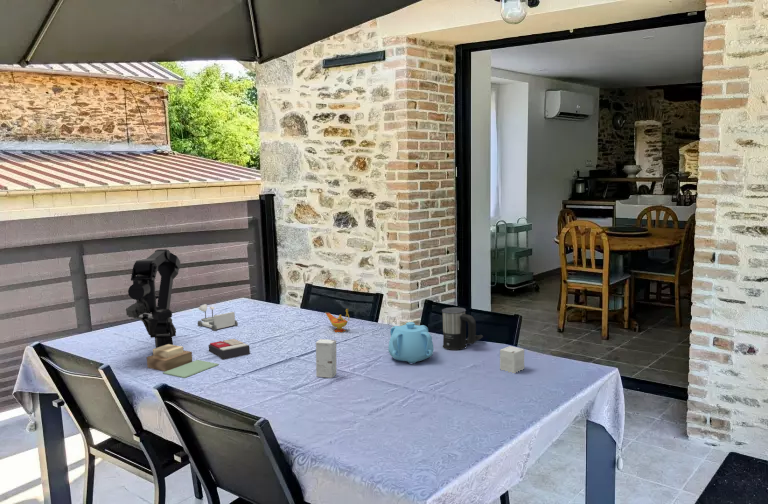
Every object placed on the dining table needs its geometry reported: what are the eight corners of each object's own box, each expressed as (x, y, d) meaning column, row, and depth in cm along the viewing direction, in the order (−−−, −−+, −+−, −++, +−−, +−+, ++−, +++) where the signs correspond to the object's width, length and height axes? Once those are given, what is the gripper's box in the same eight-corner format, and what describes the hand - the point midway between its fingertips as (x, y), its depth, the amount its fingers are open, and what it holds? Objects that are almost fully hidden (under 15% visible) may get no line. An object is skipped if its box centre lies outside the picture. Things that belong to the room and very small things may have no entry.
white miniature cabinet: (315, 377, 213) (314, 342, 211) (321, 372, 217) (319, 338, 216) (332, 378, 211) (331, 343, 210) (337, 374, 215) (336, 339, 214)
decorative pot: (433, 352, 238) (433, 317, 236) (433, 365, 222) (432, 328, 220) (390, 352, 239) (390, 317, 237) (387, 365, 223) (386, 328, 222)
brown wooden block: (147, 367, 228) (146, 357, 227) (173, 358, 238) (173, 348, 238) (166, 371, 223) (165, 360, 222) (192, 362, 233) (191, 351, 233)
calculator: (234, 337, 253) (249, 343, 241) (235, 348, 254) (250, 354, 242) (207, 342, 247) (222, 349, 235) (208, 353, 248) (223, 360, 235)
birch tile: (153, 355, 229) (152, 349, 229) (168, 350, 235) (168, 344, 235) (168, 358, 225) (167, 351, 225) (183, 353, 231) (183, 346, 231)
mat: (162, 373, 221) (162, 372, 221) (197, 360, 235) (197, 359, 235) (184, 378, 215) (184, 377, 215) (218, 364, 229) (218, 363, 229)
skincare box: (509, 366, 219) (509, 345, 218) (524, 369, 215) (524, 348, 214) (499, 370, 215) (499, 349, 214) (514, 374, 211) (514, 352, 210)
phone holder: (193, 305, 288) (215, 300, 297) (194, 325, 290) (216, 321, 298) (214, 310, 276) (236, 305, 284) (215, 332, 277) (238, 327, 286)
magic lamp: (332, 325, 283) (331, 301, 281) (356, 332, 269) (355, 307, 267) (319, 328, 278) (318, 303, 277) (343, 335, 264) (342, 310, 263)
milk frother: (439, 349, 242) (438, 311, 240) (450, 338, 256) (450, 302, 254) (475, 352, 236) (475, 314, 234) (485, 341, 250) (485, 305, 248)
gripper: (112, 296, 230) (115, 337, 232) (146, 300, 220) (149, 343, 223) (137, 290, 239) (141, 330, 241) (171, 294, 230) (174, 335, 232)
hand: (150, 335), depth 234 cm, fingers closed
